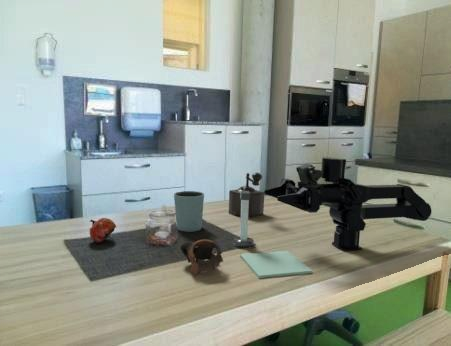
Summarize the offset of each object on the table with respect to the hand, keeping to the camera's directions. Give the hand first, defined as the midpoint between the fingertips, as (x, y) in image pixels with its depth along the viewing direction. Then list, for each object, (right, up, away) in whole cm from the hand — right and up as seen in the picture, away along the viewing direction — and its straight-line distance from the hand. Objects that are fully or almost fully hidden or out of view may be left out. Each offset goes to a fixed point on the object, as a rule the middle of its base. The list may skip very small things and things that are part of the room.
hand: (270, 195), depth 98 cm
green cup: (-25, -13, +24) cm, 37 cm away
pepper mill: (-3, -11, +44) cm, 45 cm away
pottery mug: (-19, -18, -9) cm, 27 cm away
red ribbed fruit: (-49, -14, +8) cm, 51 cm away
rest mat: (0, -17, -6) cm, 18 cm away
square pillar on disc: (-7, -15, +9) cm, 19 cm away
